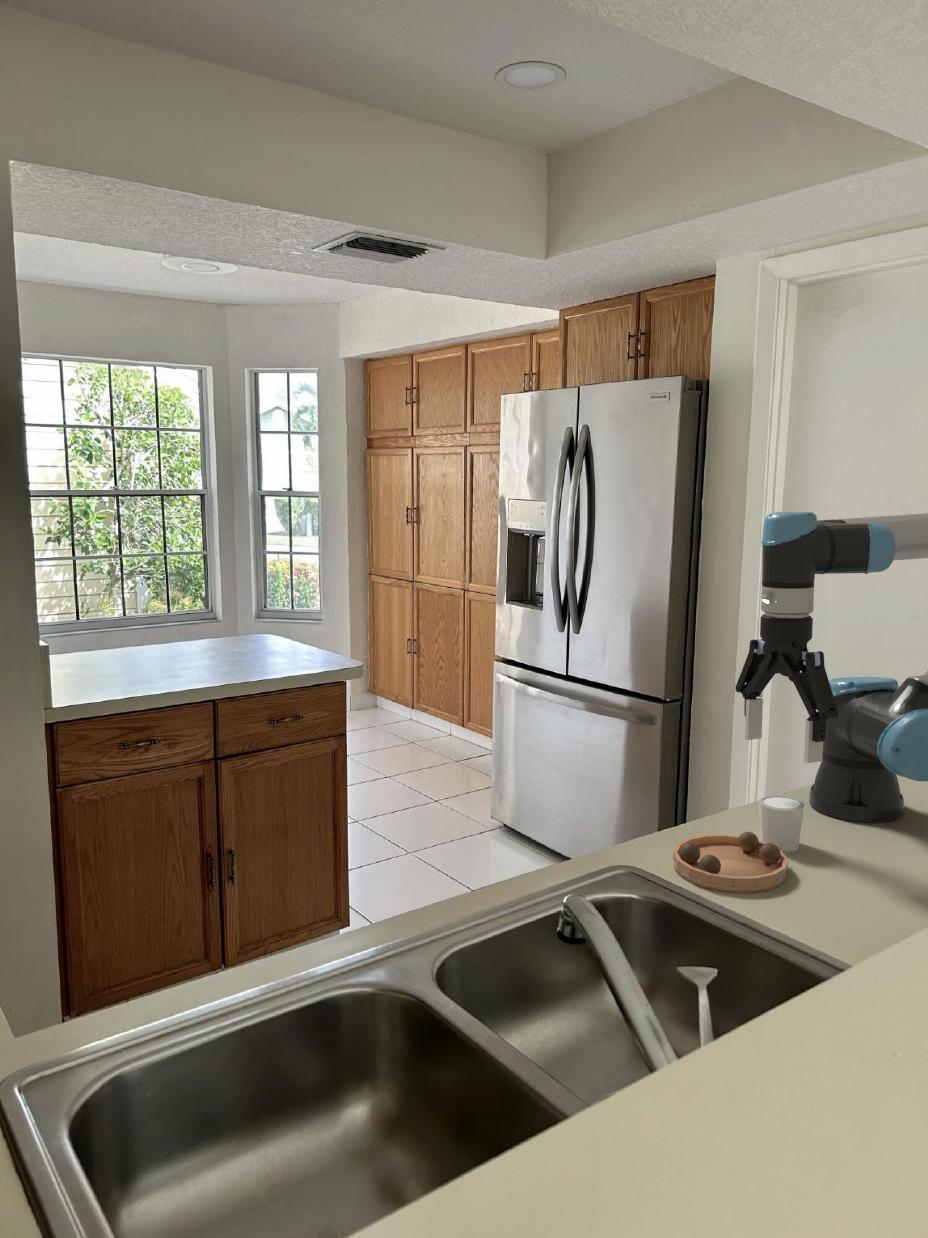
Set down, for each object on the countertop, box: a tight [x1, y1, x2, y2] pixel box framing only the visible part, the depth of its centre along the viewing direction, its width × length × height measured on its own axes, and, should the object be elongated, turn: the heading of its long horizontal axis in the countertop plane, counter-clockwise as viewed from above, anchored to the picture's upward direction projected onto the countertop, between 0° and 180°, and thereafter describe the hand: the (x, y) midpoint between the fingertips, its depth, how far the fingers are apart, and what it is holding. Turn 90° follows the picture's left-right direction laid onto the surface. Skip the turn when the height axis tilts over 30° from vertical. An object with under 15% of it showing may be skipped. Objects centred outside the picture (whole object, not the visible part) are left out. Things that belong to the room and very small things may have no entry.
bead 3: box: [738, 831, 760, 852], centre depth 139 cm, size 3×3×3 cm
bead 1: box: [680, 843, 700, 864], centre depth 135 cm, size 3×3×3 cm
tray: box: [672, 834, 789, 894], centre depth 135 cm, size 16×16×2 cm
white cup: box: [758, 795, 805, 853], centre depth 143 cm, size 7×7×7 cm
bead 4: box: [759, 843, 781, 864], centre depth 134 cm, size 3×3×3 cm
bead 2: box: [699, 855, 721, 874], centre depth 130 cm, size 3×3×3 cm
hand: (781, 749), depth 141 cm, fingers open, 13 cm apart
